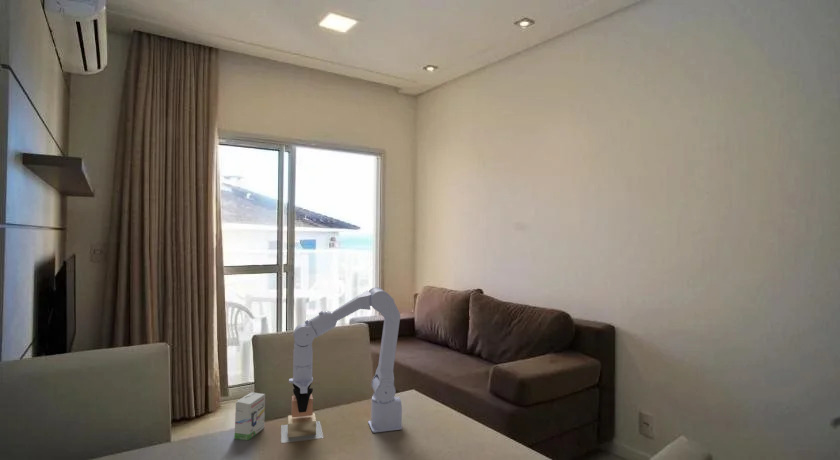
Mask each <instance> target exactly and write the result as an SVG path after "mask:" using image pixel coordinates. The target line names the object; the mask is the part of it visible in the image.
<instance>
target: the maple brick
mask: <svg viewBox="0 0 840 460" xmlns="http://www.w3.org/2000/svg"><path fill="white" fill-rule="evenodd" d="M316 421H317V420H316V414H315V412H313V415H311V416H302V417H293V418H292V414H289V415H287V424H288V437H296V436H305V435H313V434H316Z"/></svg>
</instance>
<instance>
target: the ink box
mask: <svg viewBox="0 0 840 460" xmlns="http://www.w3.org/2000/svg"><path fill="white" fill-rule="evenodd" d="M265 412H266V393H262V392H261V393H259V392H254V391H251V392H249V393H248V394H246V395H244V396H243V397H241V398H240V399H238V400H236V402H235V415H234V416H235V419H234V438H233V439H236V440H242V441H249V440H251V439H252V438H253V437H254V436H256V435H257V434H258V433H260V432H261V431H262V430H263V429H265V416H266V413H265Z"/></svg>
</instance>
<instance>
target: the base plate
mask: <svg viewBox="0 0 840 460" xmlns="http://www.w3.org/2000/svg"><path fill="white" fill-rule="evenodd" d="M318 439H319V440H320V439H324V433H323V428H322V425H321V421H320V420H316V434H313V435H305V436H296V437H288V423H287V424H281V425H280V442H281V444H285V443H293V442H302V441H303V442H304V441H309V440H310V441H311V440H318Z"/></svg>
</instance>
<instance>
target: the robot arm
mask: <svg viewBox="0 0 840 460" xmlns="http://www.w3.org/2000/svg"><path fill="white" fill-rule="evenodd" d="M371 307H372V309H374V310H375V311H376V312H378V313H380V315H382V317H383V326H382V335H381V341H380V342H381V343H380V350H379V357H378V358H379V359H378V366H377V368H376V370H375V374H374V376H373V378H372V380H371V382H370V384H371V388H372V390H373V391H374V392H373V395H372V396H371V415H370V417H371V418H370V419H371V420H368V422H367V423H368V426H369V428H370V429H371V432H372V433H382V432H392V431H398V430H399V431H400V430H402V429H403V426H402V423H403V421H402V417H403V405H402V400H401V398H400V397H399V396H396V391H397V390H396V387H395V373H394V367H395V359H396V353H397V352H396V351H397V345H398V344H397V343H398V336H399V330H400V329H399V328H400V321H401V313H400V311H399V308H398V306H397V304H396V303H395V298H393V296H391V295H390V294H389V293H388V292H387V291H385V290H384V289H383V288H381V287H377V286H376V287H375V286H374V287H372V288H370V289H369V290H366V291H364V292H362V293H360V294H359V295H357V296H355V297H353V298H352V299H350V300H349V301H347V302H346V303H344V304H342V305H341V306H339V307H337V308H336V309H335V310H333V311H330V310H325V311H324V312H323V310H322V311H319V312H318V315H316V316H315V317H312V318H311V319H309V320H308V319H307V320H305V321H304V323H300V324H298V325H297V326H296V327H295V328H294V330H293V334H292V335H293V340H294V343H293V354H292V355H293V357H292V358H293V359H292V360H293V361H292V362H293V363H292V377H291V378H289V379H288V383H289V384H292V386H293V390H292V392H293V394H294V395H293V396H296V399H297V404H298V410H299V413H300V412H306V410H307V406H308V401H309V398H310V395H311V394H312V395H313V387H311V386H312V383H313V381H314V377H313V365H314V364H313V360H314V359H313V358H314V357H313V356H314V355H313V354H314V350H313V349H314V348H313V341H314V340H315V338H319V337H320V336H322V335H324V334H325V333H327V332H329V331H331V330H332V329H335V328H336V326H337V323H338V321H340V320H342V319H344V318H346V317H348V316H350V315H352V314H353V313H355V312H357V311H359V310H367V311H370V310H371Z"/></svg>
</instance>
